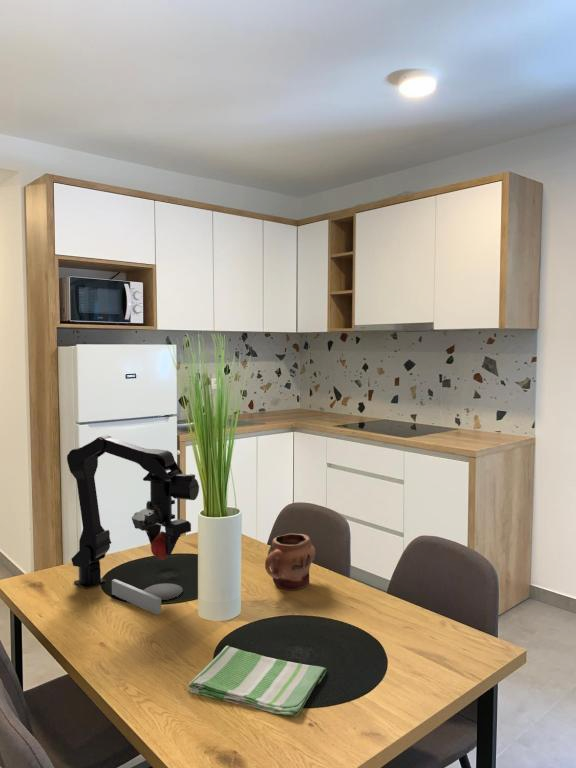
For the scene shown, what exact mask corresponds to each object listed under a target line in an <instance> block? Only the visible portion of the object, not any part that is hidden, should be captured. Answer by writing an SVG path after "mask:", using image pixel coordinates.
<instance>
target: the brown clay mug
mask: <svg viewBox="0 0 576 768" xmlns="http://www.w3.org/2000/svg"><path fill="white" fill-rule="evenodd" d="M315 556H316V549H315V547H314V545H313V544H312V541H311V538H310V536H309V535H306V534H305V533H304V534H303V533H287V534H283V535H278V536H276V537H274V538H273V539H272V542H271V545H270V547H269V550H268V552H267V557H266V558H265V562H264V564H265V565H264V567H265V571H266V573H267V575H269V576H270V577H272V582H273V584H274V585H275V586H276V587H277V588H280V589H284V590H290V591H292V590H293V591H294V590H298V589H302V588H304V587H306V586H307V585H308V584H309V583H310V567H311V565H312V563H313V561H314V560H315V558H316V557H315Z"/></svg>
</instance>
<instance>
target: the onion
mask: <svg viewBox="0 0 576 768" xmlns="http://www.w3.org/2000/svg"><path fill="white" fill-rule="evenodd" d="M164 532H165V531H164V530H160V533H159V535H158V536H157V537H155V538H154V540H153V541H152V544H150V549H151V554H152V555H153V556H154V557H155V558H157V559H158V560H160V561H164V560H165V559H166V558H167V557H168V555H167V553H166V542H165V537H164V536H163V535H162V534H161V533H164Z"/></svg>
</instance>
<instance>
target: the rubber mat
mask: <svg viewBox="0 0 576 768" xmlns="http://www.w3.org/2000/svg"><path fill="white" fill-rule="evenodd" d="M142 590H143V591H145V592H148V593H150V594H152V595H155V596H157V597H160V598H161V602H163V601H162V600H167V601H170V600H169V599H172V598H175V597H177V598H179V597H180V596H181V595H182V594H183V593H184V591H183V590H184V589H183V587H182V586H180V585H178V584H176V583H156V584H152V585H151V586H150V585H149V586H148V587H146V588H145V589H142ZM182 592H183V593H182ZM181 593H182V594H181ZM180 594H181V595H180ZM179 595H180V596H179ZM178 596H179V597H178ZM175 599H176V598H175ZM172 600H173V599H172Z"/></svg>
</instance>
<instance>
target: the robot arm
mask: <svg viewBox="0 0 576 768" xmlns="http://www.w3.org/2000/svg"><path fill="white" fill-rule="evenodd" d="M105 453H107V454H110V455H113V456H116V457H118V458H122V459H124V460H127V461H131V462H133V463H136V464H137V465H139V466H140V467H141V468H142V469H143V470H144V471H146V472H148V473H147V474H146V475H145V476H144V477H143V478H142V480H143V481H144V482H149V484H150V500H147V501H146V507H145V508H143V509H141V510H140V511H137V512H135V513H134V514H133V515H132V516H131V521H132V524H133V525H134V528H135V530H137V529H138V530H140V531H143V532H144V531H145V534H146V535H147V538H148V541H149V544H150V545H151V544H152V541H153V540H154V538H155V537H157V536H158V535H159V533H160V532H161V531H162V527H163V528H164V531H163V532H164V533H161V534H162V535H163V536H164V537H165V542H166V553H167V555H168V556H171V555H172V553H173V551H174V549H175V547H176V544H177V542H178V541H179V538H180V537H181V535H182V534H186V533H189V532H191V531H192V523H191V522H190V521H189V520H187V519H186V520H185V519H182V518H179V519H176V514H173V508H172V507H173V505H175V504H176V500H186V501H187V500H188V501H195V500H196V499H197V497H198V496H199V493H200V485H199V481H198V480H197V479H196V474H192V473H190V474H183V471H182V469H181V468H180V466H179V465H178V464H177V462H176V461H175V457H174V455H173V453H172V452H171V451H170V450H164V449H157V448H144V447H141V446H140V445H139V446H138V445H136V444H133V443H129V442H126V441H124V440H120V439H117V438H115V437H113V436H111V435H107V434H106V435H103V436H98V437H97V438H95V439H94V440H91V442H89V443H87V444H85V445H83V446H81V447H77V448H74V449H71V450H70V451H69V452H68V454H67V456H66V461H67V464H68V465H67V466H68V468H69V472H70V473H71V475H72V476H73V477H74V479H75V481H76V487H77V495H78V500H79V507H80V508H79V509H80V515H81V516H80V518H81V524H82V531H81V533H80V537H79V541H78V542H79V544H78V545H79V547H78V551H77V552H76V553H75V555H73V556H72V558H71V563H72V566H73V567H77V568H78V580H74V581H73V583H74V584H75V585H77V586H79V587H81V588H84V589H88V588H92V587H95V586H98V585H100V584H103V583H104V584H105V583H106V580H105V579H103V578H101V577H102V576H101V575H102V574H101V562H100V560H103V559H105V557H106V554H107V553H108V551H109V550H110V547H111V544H112V541H111V537H110V534H111V533H110V530H109V529H104V527H103V526H102V524H101V517H100V511H99V502H98V501H99V500H98V495H97V488H96V479H95V477H96V476H95V475H96V473H97V470H98V467H99V466H98V465H99V464H98V463H99V457H101V456H103V455H104V454H105ZM175 499H176V500H175ZM173 519H175V520H173ZM168 556H167V557H168Z"/></svg>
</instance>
